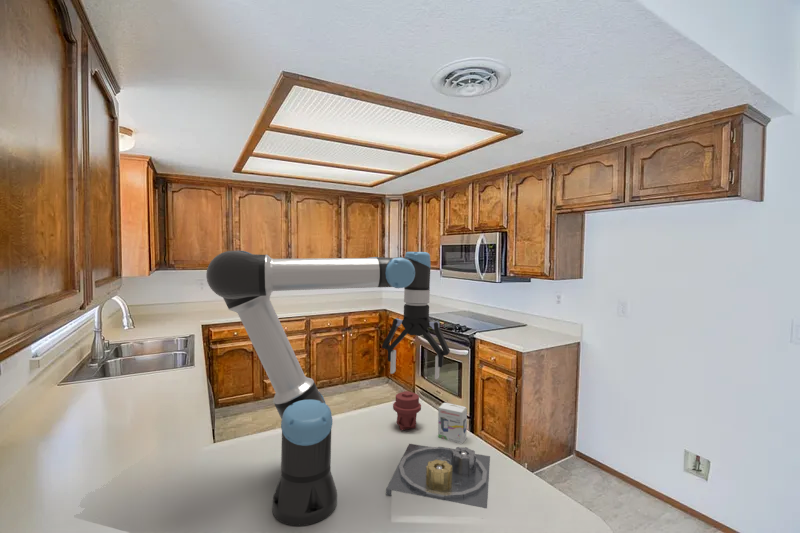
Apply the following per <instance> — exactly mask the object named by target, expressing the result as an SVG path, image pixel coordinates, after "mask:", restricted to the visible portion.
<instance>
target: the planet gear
mask: <svg viewBox="0 0 800 533" xmlns="http://www.w3.org/2000/svg"><path fill="white" fill-rule="evenodd" d="M438 465H440V466H442V469H441V470H440V469H436V467H437V466H438ZM451 484H452V465H450V464H448V463H447V461H440V460H434V461H431V462H430V461H429V462H428V466H426V485H428V486H429V487H430V489H432V490H439V491H444V490H446V489H450V488H451Z"/></svg>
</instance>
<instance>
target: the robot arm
mask: <svg viewBox="0 0 800 533" xmlns="http://www.w3.org/2000/svg"><path fill="white" fill-rule="evenodd" d="M431 264H432V263H431V255H430V253H429V252H425V251H406V252H405V255H404V257H400V256H398V257H380V256H379V257H378V256H375V257H374V256H373V257H370V256H369V257H344V258H343V257H339V258H337V257H333V258H332V257H330V258H329V257H328V258H326V257H325V258H324V257H322V258H315V257H313V258H311V257H310V258H272V257H270V255H268V254H253V253H250V252H249V251H245V250H226V251H224V252H221V253H219V254H217V255H216V256H214V258H212V259H211V261H210V262H209V264H208V266H207V269H206V282H207V284H208V286H209V289H210V290H212V292H214V294H215V295H218V296H219V297H221V298H223V300H224V303H225V304H226V306H227V309H228V310H229V311H232V312H234V313H237V315H238V318H239V319H240V321H241V323H242V325H243V327H244V329H245V331H246V333H247V336H248V337H249V339H250V342H251V344H252V347H253V348H254V350H255V352H256V354H257V357H258V360H259V361H260V363H261V365H262V367H263V369H264V371H265V373H266V375H267V377H268V379H269V382H270V384H271V386H272V388H273V390H274V392H275V393H274V397H273V400H272V402H273V404H274V406H275V408H276V410H277V412H278V414H279V417H280V418H281V422H280V426H281V427H280V429H281V447H280V448H281V453H280V454H281V455H280V456H281V457H280V458H281V459H280V461H281V462H280V477H279V479H278V482H277V485H276V489H275V491H274V493H273V497H272V509H271V510H272V514H273V516H274V518H275V519H276V520H277V521H279V522H280V523H283V524H284V525H288V526H308V525H312V524H316V523H318V522H321V521H324V519H326V518H328V517H329V516H330V515H331V514H332V513H333V512H334V510H335V509H336V506H337V503H338V492H337V491H338V490H337V487H336V484H335V480H334V477H333V473H332V471H331V467H332V466H331V463H332V462H331V461H332V460H331V457H332V428H333V417H332V410H331V408H330V406H329V405H328V404H326V400H325V398H324V396H323V395H322V394H321V392H320V391H319V389H318V387H317V384H316V383H315V381H314V379H313V378H312V377H307V376H306V375H305V373H304V371H303V369H302V366H301V363H300V362H299V360H298V358H297V356H296V354H295V351H294V349H293V347H292V344H291V343H290V340H289V339H288V335H287V334H286V332H285V330H284V327H283V325H282V323H281V321H280V318H279V316H278V315H277V312H276V310H275V308H274V306H273V304H272V301H271V295H272V293H273V292H279V291H281V292H283V291H285V292H287V291H310V290H312V291H313V290H337V289H338V290H339V289H343V290H344V289H367V288H369V289H370V288H373V289H374V288H394V289H404V291H403V292H404V295H403V297H404V298H403V302H404V305H403V318H402V319H400V318H398V317H396V318H394V319H393V320H392V326H391V328H390V330H389V332H388V334H387V335H386V338H385V339H384V340H383V343H382V344H381V348H382V349H385V350H386V351H387V362H390V366H389V368H390V370H389V371H390V372H389V373H390V375H391V374H395V372H396V370H397V369H396V367H397V366H396V365H397V364H396V363H397V361H396V360H397V349H395V348H396V347H397V346H398V345H399V343H400V342H401V341H402V340H403V339H404V338H405V337H406V336H407V335H409V336H418V337H421V336H422V337H423V338H424V339H426V341H427V342H428V344H429V345H430V346H431V348H432V350H434V352H435V353H436V355H435V358H434V359H435V360H434V361H435V362H434V363H435V364H434V366H435V367H434V379H435V380H438V379H439V378H440V369H441V368H443V366H444V356H448V355H449V354H450V353H451V350H450V347H449V345H448V343H447V341H446V339H445V337H444V334H443V332H442V330H441V325H440V324H441V323H440V321H439V320H436V321H430V306H429V303H430V295H431V294H430V291H431V290H430V286H431V285H430V284H431V268H432V266H431ZM401 325H402V327H403V328H404V330H402V331H401V333H400V334H399V335H398V336H397V337H396V338H395V339H394V340H393V342H392V339H393V337H394V335H395V334H396V332H397V330H398V328H399V327H400V326H401ZM429 328H431V329H433V330H434V333H435V335H436V337H437V340H438V342H439V344H440V345H439V344H438V342H437V341H436V340H435V338H434V337H433V335H431V332H430V331H429V330H428V329H429ZM391 342H392V343H391ZM390 343H391V344H390Z"/></svg>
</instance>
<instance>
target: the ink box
mask: <svg viewBox="0 0 800 533" xmlns="http://www.w3.org/2000/svg"><path fill="white" fill-rule="evenodd" d="M437 408H438V409H437V410H438V412H437V418H438V420H437V423H438V425H437V426H438V428H437V430H438V432H437V434H438V435H437V436H438V438H439V439H442V440H446V441H449V442H454V443H458V444H461V445H462V444H464V442H465V441H466V440H467V427H468V426H467V423H468V414H467V413H468V408H467V407H466V406H463V405H460V404H454V403H449V402H443V403H441V404H440V406H438V407H437Z"/></svg>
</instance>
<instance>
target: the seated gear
mask: <svg viewBox="0 0 800 533" xmlns="http://www.w3.org/2000/svg"><path fill="white" fill-rule="evenodd" d="M453 449H454V450H452V460H451V465H452V470H453V471H455V472H457V473H459V475H471V474H472V473H473V472H476V455H475V454H476V451H475V450H474V449H470V448H469V447H466V446H465V447H460V446H457V447H455V448H453ZM463 451H464V452H466V453H467V455H461V452H463Z"/></svg>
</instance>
